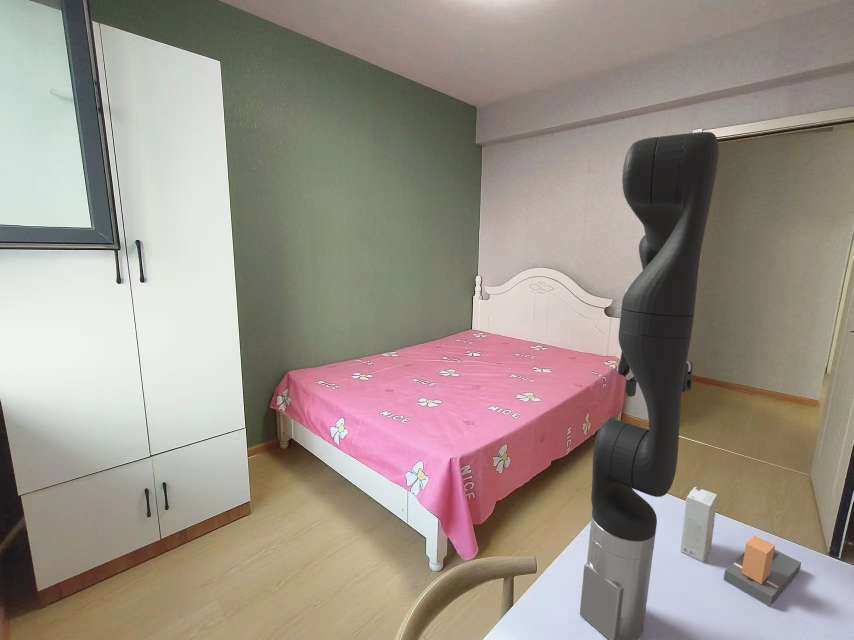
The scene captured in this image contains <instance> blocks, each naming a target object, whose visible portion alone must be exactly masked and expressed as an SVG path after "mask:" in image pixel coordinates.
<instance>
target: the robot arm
mask: <svg viewBox="0 0 854 640" xmlns="http://www.w3.org/2000/svg"><path fill="white" fill-rule="evenodd" d="M719 151H720V149H719V141H718V138H717V136H716V134H715V133H713V132H711V131H700V132H699V131H698V132H697V131H696V132H689V133H680V134H670V135H661V136H654V137H647V138H643V139H639V140H637V141H635V142H634V143H632V144H631V145H630V147H629V148H628V150H627V152H626V154H625V157H624V163H623V167H622V178H621V182H622V191H623V196H624V199H625V200H626V203H627V205H628V206H629V208H630V209H631V210H632V212H633V214H634V215H635V216H636V218H637V219H638V220H639V221H640V222H641V225H643V228H644V229H643V230H644V235H643V236H642V238H641V240H640V241H639V244H638V253H639V259H640V263H641V268H642V271H641V272H640V273H639V274H638V275H637V277H635V279H634V280H633V282H632V283H631V284H630V286H629V287H628V288H627V290H626V291H625V294H624V295H623V298H622V301H621V310H620V316H619V317H620V318H619V329H618V335H617V336H618V344H619V347H620V350H621V354H620V359H619V360H620V361H619V367H618V375H620V376H623V377H625V380H626V381H625V389H624V390H625V393H626V396H627V397H629V398H632V397H634V396H635V395H636V392H637V385H638V387H639V388H640V391H641V393H642V395H643V399H644V402H645V406H646V411H647V416H648V428H645V427H642V426H639V425H636V424H632V423H629V422H626V421H623V420H618V419H613V418H612V419H608V420H606V421H605V422H604V423H603V424H602V425H601V426H600V428H599V429H598V431H597V434H596V437H595V440H594V446H593V453H592V454H593V455H592V475H591V476H592V478H591V479H592V480H591V494H590V495H591V496H590V499H591V502H590V503H591V506H592V507H591V508H592V509H591V517H590V519H591V520H590V530H589V540H588V549H587V559H586V563H584V565H583V566H584V567H583V575H582V577H583V578H582V586H581V597H580V607H579V615H580V616H581V617H582V618H583V619H584V620H586V621H587V622H588V623H589V624H590V625H592V626H593V627H594V628H595V629H596V630H597V631H598V632H600V633H601V635H603V636H604V637H605V638H606V639H608V640H636V639H638V638H639V637H640V636H642V634H643V632H644V625H645V619H646V612H647V611H646V610H647V603H648V595H649V587H650V586H649V585H650V579H651V573H652V572H651V571H652V564H653V555H654V548H655V540H656V531H657V526H658V525H657V524H658V517H657V514H656V511H655V510H654V508H653V506H652V505H651V504H650V503H648V501H647V500H646V499H644V498H643V497H642V496H641V495H640V494H638V493H637V492H636V491H638V492H641V493H643V494H646V495H648V496H651V497H654V498H655V497H656V498H661V497H662V498H663V496H666V495H667V494H668V492H669V491H670V489H671V488H672V485H673V484H674V480H675V477H676V473H677V466H678V465H677V464H678V455H679V440H680V423H681V421H680V420H681V407H682V405H681V404H682V394H683V393H684V392H685V393H686V392H687V391H691V389H692V384H693V383H692V381H693V380H692V379H693V362H692V361H689V360H688V357H689V356H688V355H689V350H690V345H691V339H692V332H693V326H694V317H695V311H696V298H697V289H698V280H699V279H698V278H699V270H700V269H699V268H700V261H701V253H702V248H703V247H702V246H703V241H704V237H705V233H706V232H705V231H706V227H707V221H708V216H709V212H710V207H711V203H712V202H711V201H712V196H713V192H714V186H715V182H716V176H717V171H718V164H719ZM635 490H636V491H635Z"/></svg>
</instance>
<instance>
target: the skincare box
mask: <svg viewBox="0 0 854 640" xmlns="http://www.w3.org/2000/svg"><path fill="white" fill-rule="evenodd" d="M717 499H718V494H716V493H714V492H711V491H709V490H705V489H702V488H699V487H697V486H694V487H693V488H692V489H691V490H690V491H689V494H688V495H687V496H686V499H685V508H684V516H683V523H682V524H683V525H682V532H681V533H682V535H681V542H680V553H683V554H684V555H686V556H689V557H690V558H693V559H694V560H696V561H699V562H701V563H703V562H705V561H706V560H707V558H708V556H709V554H710V552H711V550H712V543H713V535H714V527H715V517H716V512H717V511H716V509H717Z"/></svg>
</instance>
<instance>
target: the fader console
mask: <svg viewBox="0 0 854 640" xmlns="http://www.w3.org/2000/svg"><path fill="white" fill-rule="evenodd" d="M744 554H745V551H744V552H743V553H742V554H741V555H740V556H739V557H737V558H736V559H735V560H734V561H733V562H732V563H731V564H730V565H728V567H726V568H725V570H724V574H723V581H725V582H727V583H729V584H730V585H732V586H734V587H735V588H737V589H739V590H740V591H742V592H743V593H745V594H747V595H749V596H751V597H752V598H754V599H755V600H757V601H759V602H760V603H762V604H765V605H766V606H768V607H772V605H773V604H774V603H775V602H776V600H777V599H779V597H780V596H781V595H782V593H783V592H784V591H785V590H786V588H788V586H789V585H790V584H791V583H792V581H793V580H794V579H795V578H796V576H797V575H799V573H800V571H801V568H802V567H801V566H802V562H801V561H799V560H797V559H795V558H793V557H791V556H789V555H788V554H785V553H783V552H781V551H779V550H777V549H774V555H773V560H772V566H771V571H770V575H769V576H768V577H767V578H766V580H765V581H764V582H763V583H762V584H760V583H758V582H757V581H755V580H753V579H751V578H750V577H748V576H746V575H744V574H742V573H741V572H742V566H743V560H744Z"/></svg>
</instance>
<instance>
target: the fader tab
mask: <svg viewBox="0 0 854 640" xmlns="http://www.w3.org/2000/svg"><path fill="white" fill-rule="evenodd" d="M775 548H776V545H775V544H773V543H771V542H769V541H767V540H765V539H763V538H760V537H759V536H756V535H754V536H753V537H752V538H751V539H749V540H748V541H747V542H746V543H745V549H744V552H745V554H744V560H743V566H742V572H741V573H742V574H744V575H746V576H748V577H750V578H751V579H753V580H755V581H757V582H758V583H760V584H762V583H763V582H764V581H765V580H766V578H767V577H768V576H769V575H770V571H771V566H772V560H773V555H774V549H775ZM775 550H776V549H775Z"/></svg>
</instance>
